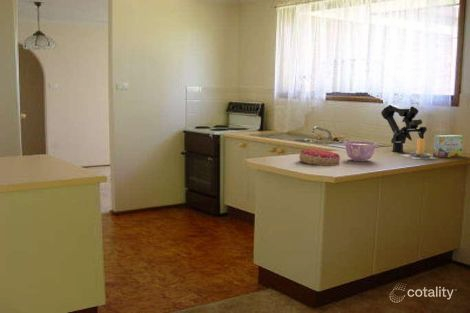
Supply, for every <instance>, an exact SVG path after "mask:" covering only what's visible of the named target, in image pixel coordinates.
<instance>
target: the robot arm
mask: <svg viewBox="0 0 470 313" xmlns="http://www.w3.org/2000/svg"><path fill="white" fill-rule="evenodd" d="M395 113H397V114H398V116H400V117H402V123H404V124H405V126H401V128H400V127H399V126H398V124H397V122H396V120H395V117H394V115H395ZM418 113H419V109H417V108H416V107H415V106H410V108H403V107H401V106H398V105H396V104H389V105H387V106H386V107H384V108H383V109H382V110H381V113H380V114H381V116H382V118H383V119H384V120H386V121H387V123H388V126H389V127H390V128H391V131H392V133H393V136H392V138H391V140H390V141H391V144H392V150H391V152H395V153H402V152H404V144H405V143H406V141H407V139H408V140H409V141H412V137H411V134H410V133H417V134H418V136H419V139H425V138H424V137H425V136H424V135H425V133H426V132H427V131H428V128H427V127H426V126H420V125H421V124H423V121H422V119H415V118H416V116H417V115H418ZM419 126H420V127H419Z"/></svg>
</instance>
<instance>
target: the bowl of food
mask: <svg viewBox="0 0 470 313" xmlns="http://www.w3.org/2000/svg"><path fill="white" fill-rule="evenodd" d="M344 146H345V151H346V155H347V157H348V158H349V159H351V160H352V161H353V162H366V161H368V160H369V159H371V158H372V157H373V155H374V153H375V148H376V146H377V143H376V142H371V141H365V140H364V141H363V140H362V141H361V140H349V141H345V142H344Z"/></svg>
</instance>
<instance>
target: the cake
mask: <svg viewBox="0 0 470 313" xmlns="http://www.w3.org/2000/svg"><path fill="white" fill-rule="evenodd" d="M340 160H341V156H340V155H339V154H338V153H336V152H333V151H330V150H327V149H326V150H325V149H324V150H322V149H316V148H307V149H302V150H300V153H299V161H300V162H303V163H305V164H308V165H314V164H315V165H318V164H319V165H318V166H335V165H334V164H336V165H339V164H338V163H340Z"/></svg>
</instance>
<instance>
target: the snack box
mask: <svg viewBox="0 0 470 313" xmlns="http://www.w3.org/2000/svg"><path fill="white" fill-rule="evenodd" d="M463 140H464V135H460V134H447V135H445V134H444V135H443V134H441V135H440V134H439V135H434V141H433V151H432V157H434V158H452V157H451V156H459V157H462V153H463V152H462V151H463V149H462V148H463Z"/></svg>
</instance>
